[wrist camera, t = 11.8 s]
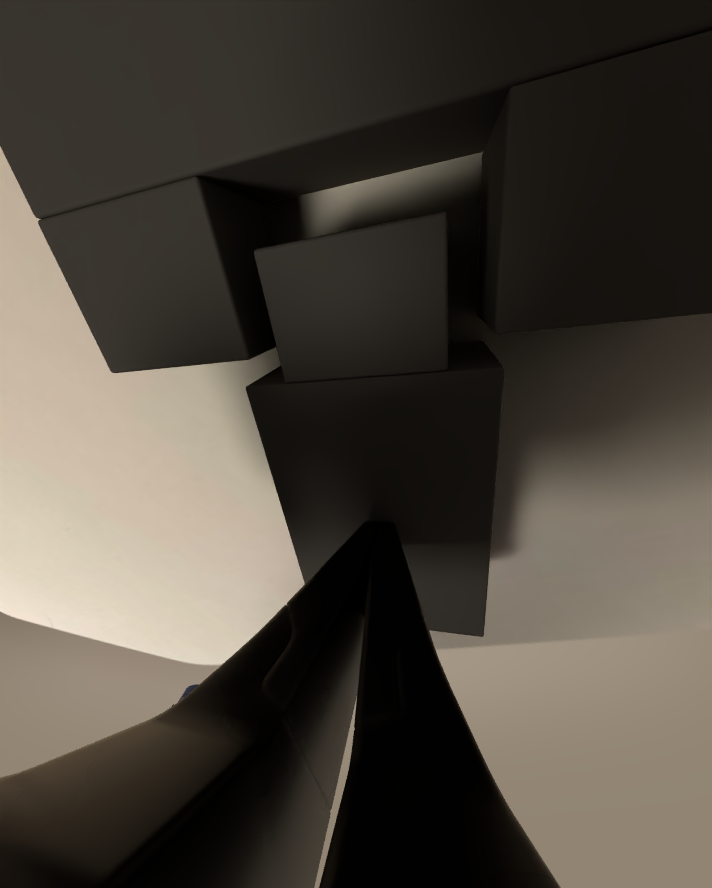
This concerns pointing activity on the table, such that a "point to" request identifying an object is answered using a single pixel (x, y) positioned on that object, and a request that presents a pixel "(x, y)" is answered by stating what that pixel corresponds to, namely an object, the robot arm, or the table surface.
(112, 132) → the large black pad
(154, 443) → the table surface
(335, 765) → the robot arm
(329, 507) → the small black block
